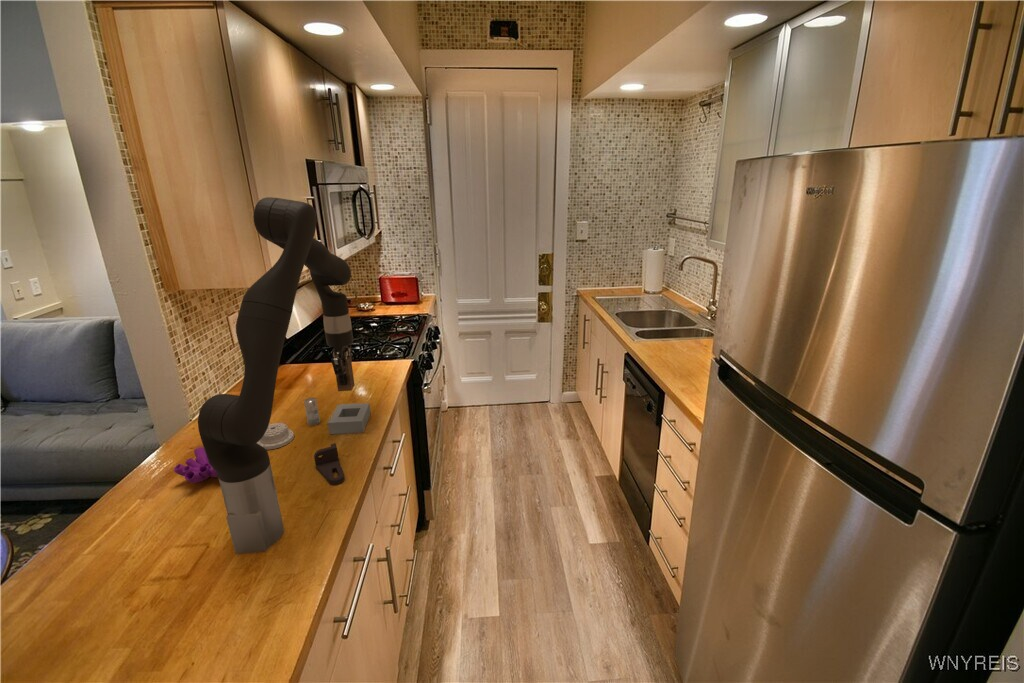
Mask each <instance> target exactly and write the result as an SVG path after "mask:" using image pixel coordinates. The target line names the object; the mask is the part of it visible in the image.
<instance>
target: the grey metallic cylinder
mask: <svg viewBox="0 0 1024 683" xmlns="http://www.w3.org/2000/svg"><path fill="white" fill-rule="evenodd" d="M303 402H304V409H305V415H306V422H307V425H308V426H316V425H318V424H320V423H321V419H320V412H319V407H318V406H319V405H318V401H317V398H316V397H307V398H306V399H304V400H303Z"/></svg>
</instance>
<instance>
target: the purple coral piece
mask: <svg viewBox="0 0 1024 683" xmlns="http://www.w3.org/2000/svg"><path fill="white" fill-rule="evenodd" d="M193 451H194V452H193V453H194V455H195V458H194V459H193V458H192V457H191V458H188V459H186V461H185V464H186V465H184V464H181V463H178V464H177V465H176V466H174V468H173V471H174V472H175V473H176V474H177V475H179V476H182V477H184V479H185V480H186V481H187V482H189V483H193V484H196V483H200V482H203V481H205V480H207V479H209V478H218V475H217V472H216V471H215V470H214V469H213V468H212V466H211V465H210V463H209V461H208V458H207V455H206V452H205V449H204V446H199V447H197V448H195V449H194V450H193Z"/></svg>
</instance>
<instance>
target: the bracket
mask: <svg viewBox="0 0 1024 683" xmlns="http://www.w3.org/2000/svg"><path fill="white" fill-rule="evenodd" d="M313 458H314V464H315V468H316V471H317V472H319V474H321V476H322V477H323V478H324V479H325V480H326V482H327V483H329V485H330V486H338V484H339V485H342V483H344V482H345V479H346V478H345V473H344V470H343V466H342V464H341V462H340V458H339V452H338V447H337V443H331V444H330V446H329V447H325V448H320V449H318V450H316V451H315V453H314V455H313ZM335 473H337V476H336V477H334V474H335Z"/></svg>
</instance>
